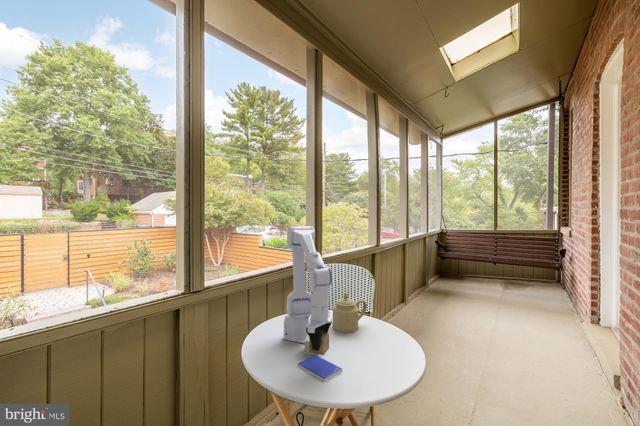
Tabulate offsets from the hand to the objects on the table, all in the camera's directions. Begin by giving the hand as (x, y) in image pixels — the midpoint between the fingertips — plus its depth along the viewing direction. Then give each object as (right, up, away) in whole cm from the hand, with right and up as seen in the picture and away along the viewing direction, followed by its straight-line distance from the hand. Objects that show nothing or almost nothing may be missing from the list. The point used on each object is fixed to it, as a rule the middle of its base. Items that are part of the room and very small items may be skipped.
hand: (319, 346), depth 104 cm
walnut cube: (0, -1, 0) cm, 1 cm away
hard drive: (0, -8, 0) cm, 8 cm away
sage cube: (-2, -7, +11) cm, 13 cm away
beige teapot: (+12, -6, +34) cm, 37 cm away
